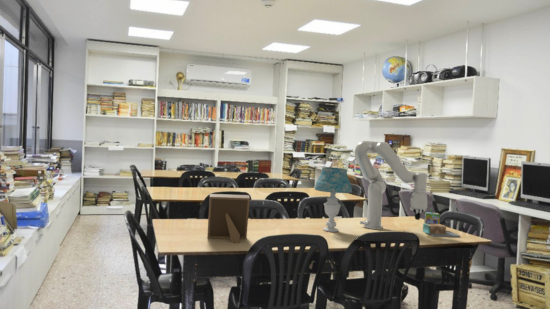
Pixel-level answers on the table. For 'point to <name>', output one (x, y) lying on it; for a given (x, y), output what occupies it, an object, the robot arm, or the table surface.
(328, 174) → the table lamp
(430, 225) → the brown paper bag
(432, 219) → the colorful lidded canister
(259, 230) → the table surface
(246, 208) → the photo frame
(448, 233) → the mat
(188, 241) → the table surface
